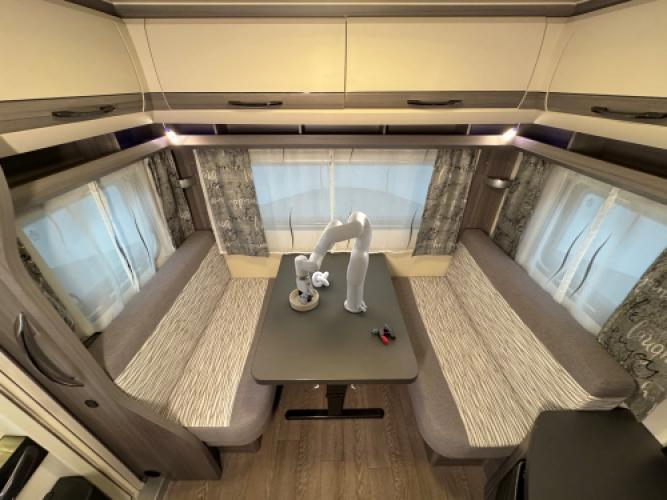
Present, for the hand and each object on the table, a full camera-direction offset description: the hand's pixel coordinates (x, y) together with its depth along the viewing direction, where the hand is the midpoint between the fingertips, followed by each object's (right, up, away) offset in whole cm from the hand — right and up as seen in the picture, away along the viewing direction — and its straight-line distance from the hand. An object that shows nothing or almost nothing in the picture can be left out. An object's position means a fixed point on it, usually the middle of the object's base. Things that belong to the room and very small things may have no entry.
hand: (305, 298), depth 160 cm
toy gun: (+44, -16, -24) cm, 53 cm away
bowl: (-1, -2, +1) cm, 3 cm away
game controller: (0, -1, +1) cm, 1 cm away
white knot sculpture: (+10, +7, +17) cm, 20 cm away
